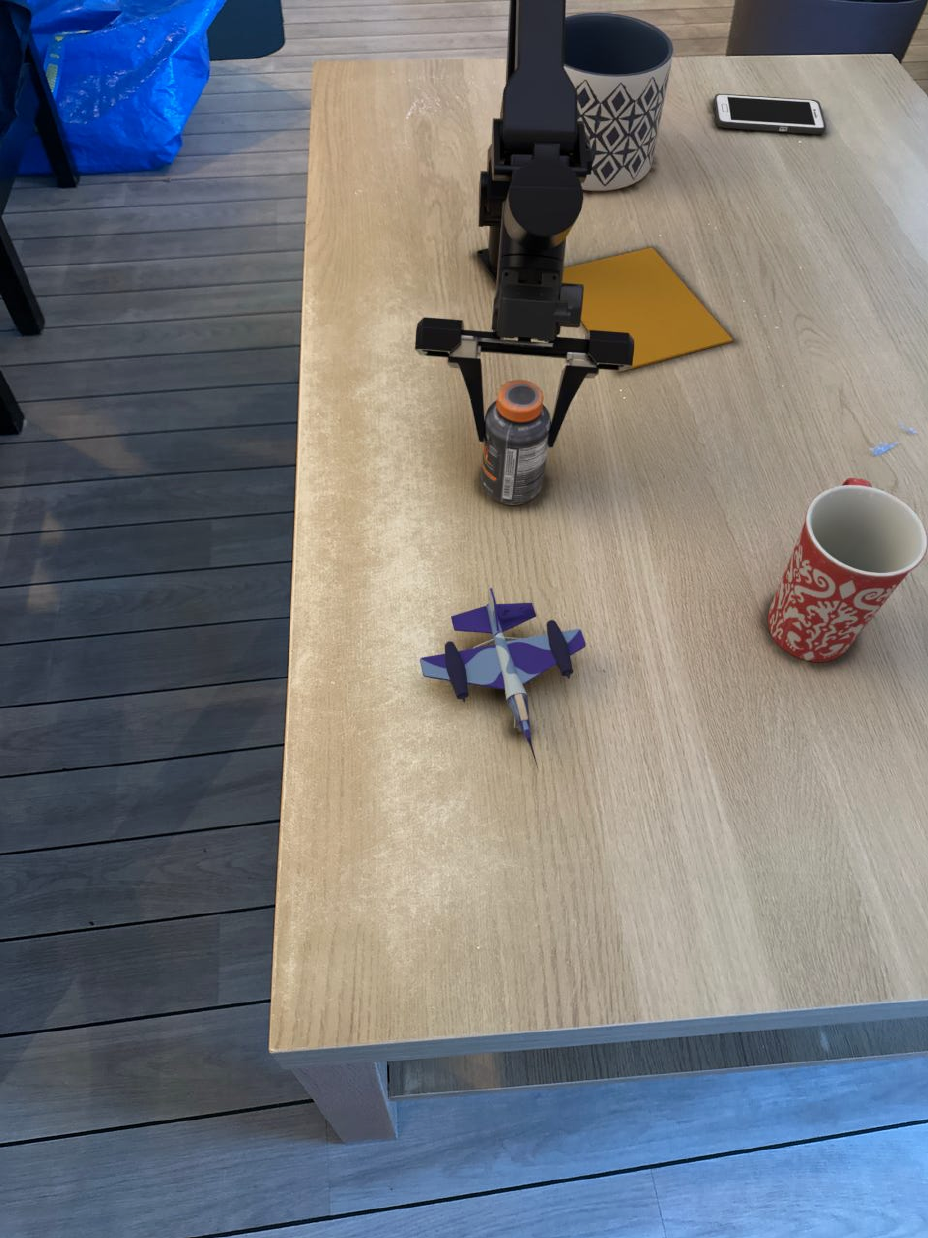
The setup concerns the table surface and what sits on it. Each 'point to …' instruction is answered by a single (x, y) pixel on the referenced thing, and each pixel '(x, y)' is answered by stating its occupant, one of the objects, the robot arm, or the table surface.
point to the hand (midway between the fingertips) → (515, 444)
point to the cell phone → (769, 113)
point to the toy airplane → (504, 656)
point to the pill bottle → (515, 444)
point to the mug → (844, 568)
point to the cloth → (645, 306)
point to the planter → (618, 92)
